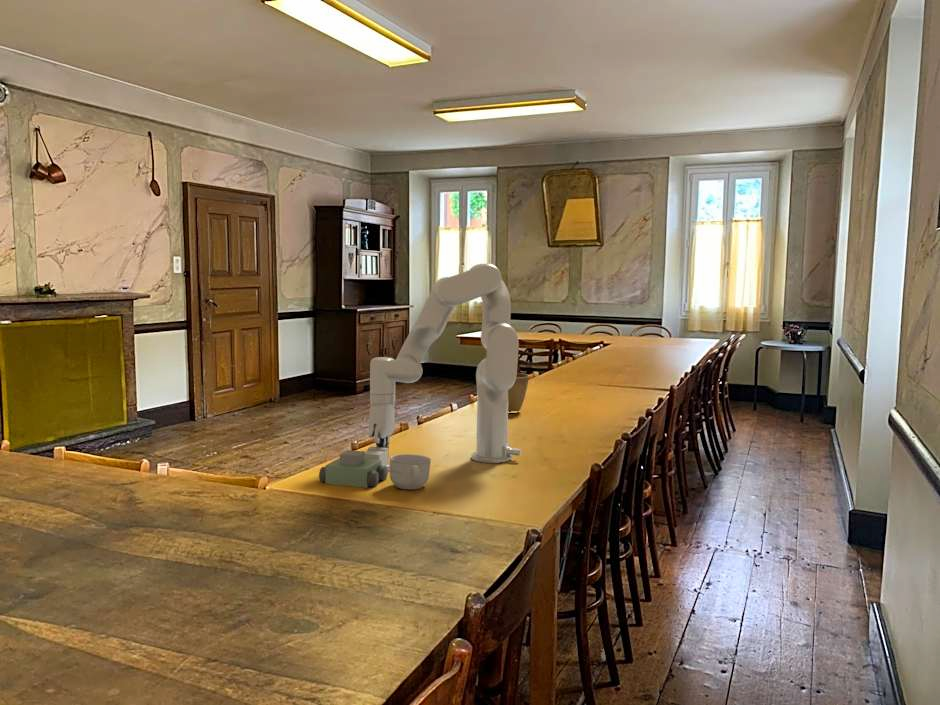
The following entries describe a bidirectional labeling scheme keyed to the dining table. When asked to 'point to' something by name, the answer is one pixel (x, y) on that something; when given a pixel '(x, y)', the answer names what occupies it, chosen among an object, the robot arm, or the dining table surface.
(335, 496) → the dining table surface
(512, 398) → the plant pot
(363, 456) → the toy car
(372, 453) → the light grey box
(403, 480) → the teacup
